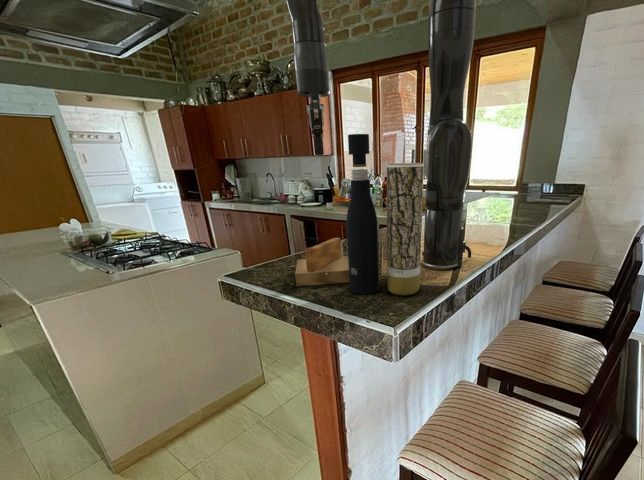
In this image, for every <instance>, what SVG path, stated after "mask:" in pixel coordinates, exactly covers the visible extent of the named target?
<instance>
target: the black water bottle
mask: <svg viewBox="0 0 644 480" xmlns="http://www.w3.org/2000/svg"><path fill="white" fill-rule="evenodd" d="M347 145H348V155H351V156H352V167H353V168H358V169H351V180H350V198H349V203H348V207H347V211H346V212H347V213H346V220H345V221H346V222H345V226H346V243H347V256H348V261H349V278H350V282H349V290H350V292H352V293H353V294H355V295H356V294H357V295H371V294H374V293H377V292H378V291H379V290H380V266H379V265H380V264H379V263H380V261H379V257H380V256H379V221H378V215H377V211H376V207H375V205H374V202H373V199H372V196H371V180H370V179H369V177H370V176H369V170H368V168H366V167H367V155H370V134H369V133H353V134H352V133H351V134H348V135H347ZM359 168H361V169H359ZM362 168H363V169H362ZM364 168H365V169H364Z"/></svg>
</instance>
